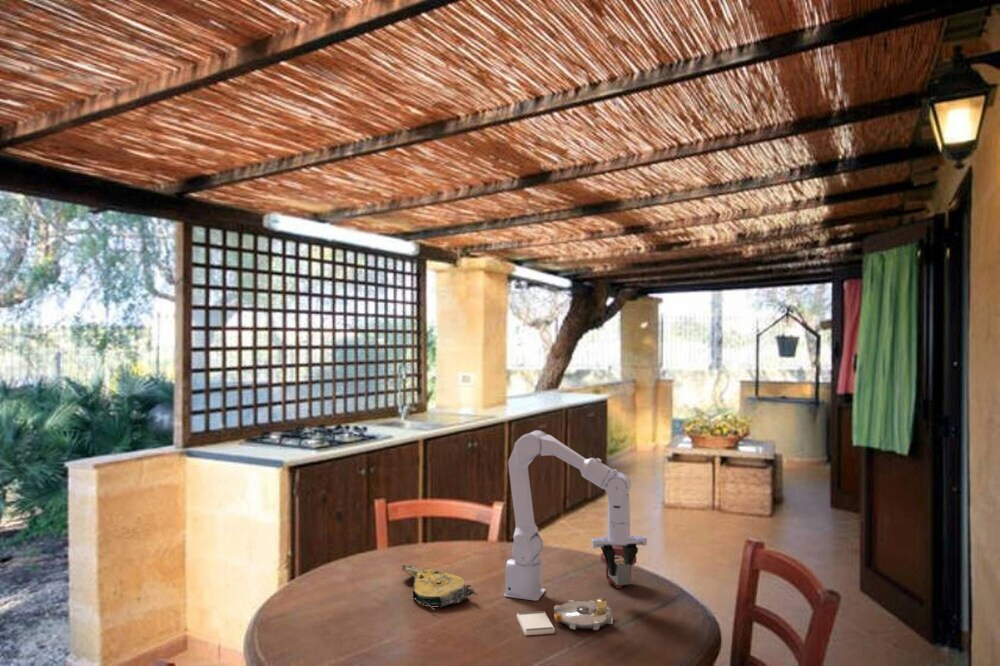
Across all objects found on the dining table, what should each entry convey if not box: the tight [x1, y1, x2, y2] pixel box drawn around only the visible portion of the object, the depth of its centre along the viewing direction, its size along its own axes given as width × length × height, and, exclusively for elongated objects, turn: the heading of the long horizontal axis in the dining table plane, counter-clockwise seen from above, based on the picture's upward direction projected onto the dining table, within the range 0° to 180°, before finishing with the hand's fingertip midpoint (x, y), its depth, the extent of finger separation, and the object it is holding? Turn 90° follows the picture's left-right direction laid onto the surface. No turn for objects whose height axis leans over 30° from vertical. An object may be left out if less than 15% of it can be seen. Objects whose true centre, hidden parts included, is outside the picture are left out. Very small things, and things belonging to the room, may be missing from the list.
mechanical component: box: [600, 546, 637, 589], centre depth 179 cm, size 12×10×10 cm
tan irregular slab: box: [402, 564, 478, 611], centre depth 173 cm, size 14×6×30 cm
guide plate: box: [516, 610, 556, 636], centre depth 152 cm, size 10×7×1 cm
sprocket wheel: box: [553, 597, 614, 631], centre depth 154 cm, size 15×15×4 cm
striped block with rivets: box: [608, 555, 632, 586], centre depth 163 cm, size 7×4×5 cm, turn 10°
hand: (619, 574), depth 163 cm, fingers closed on striped block with rivets, 3 cm apart
